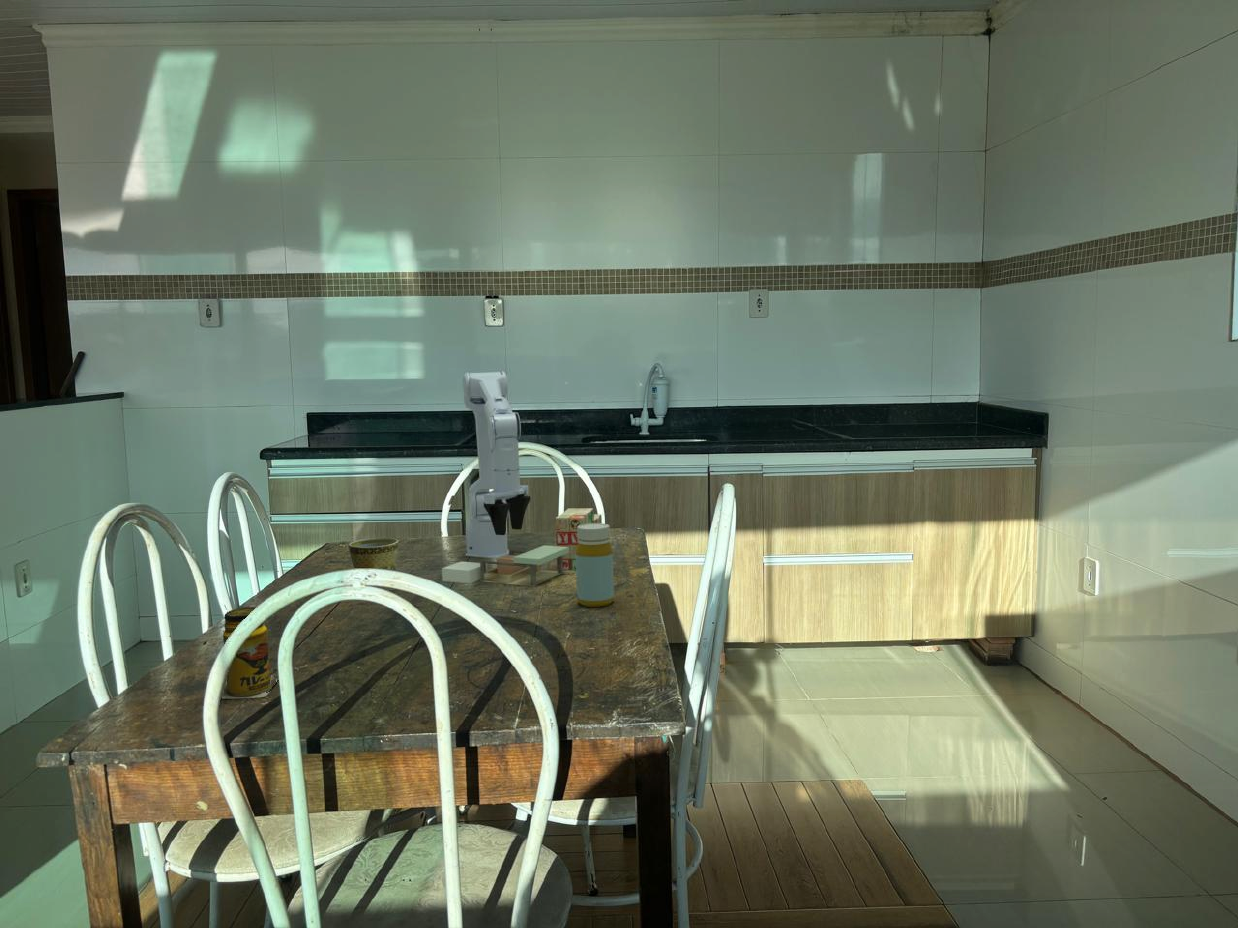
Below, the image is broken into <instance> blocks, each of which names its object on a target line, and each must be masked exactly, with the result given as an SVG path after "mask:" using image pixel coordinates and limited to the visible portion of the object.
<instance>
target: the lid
mask: <svg viewBox="0 0 1238 928" xmlns="http://www.w3.org/2000/svg"><path fill="white" fill-rule="evenodd" d="M527 551H528V552H526V553H519V555H515V557H514V563H522V564H535V565H539V566H540V565H543V564H545V563H548V562H550V561H552V560H555V559H557V557H559V556H562V555H564V554H567V553H569V547H560V546H557V545H545V544H543V545H541V546H538V547H536V548H534V549H531V550H527Z"/></svg>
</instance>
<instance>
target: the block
mask: <svg viewBox="0 0 1238 928" xmlns="http://www.w3.org/2000/svg"><path fill="white" fill-rule="evenodd" d="M515 556H516V555H515V554H514V555H509V554H508V555H505V556H503V557H500V558H496V562H508V563H514V557H515ZM520 564H522V563H520ZM496 565H497V564H496ZM496 567H497V569H498V574H504V575H510V574H512V573H515V572H517V571H520V570H522V569H523V567H522V566H509V565H497V566H496Z"/></svg>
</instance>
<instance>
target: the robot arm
mask: <svg viewBox="0 0 1238 928" xmlns="http://www.w3.org/2000/svg"><path fill="white" fill-rule="evenodd" d="M462 377H463V378H462V379H463V381H462V382H463V383H462V386H463V399H464V404H465V408H467V409H469V410H470V411H472V413H473V416H474V420H475V433H476V435H475V436H476V448H477V462H478V473H479V474H478V476H479V477H478V479H477V480H475V481H474V482H473V483H472V484H471V485H470V486H469V489H468V510H469V514H470V515H469V516H470V517H471V518H470V519H469V520H468V521H467V523H466V526H465V540H466V541H465V542H466V553H465V554H464V556H465V557H475V558H485V559H487V558H489V559H497V558H500V557H503V556H505V555H509V550H510V549H508V535H507V534H508V531H507V528H508V527H507V519H508V517H509V519H510V520H509V521H510V525H511V529H512V530H519V531H520V530H522V529H523V525H524V519H525V515H526V511H527V508H528V506H529V503H530V502H531V496H530V495H529V485H525V484H521V480H520V479H521V478H520V476H521V475H520V472H521V471H520V457H519V456H520V455H519V454H520V451H519V440H520V438H521V436H522V435H521V433H522V425H521V424H522V423H521V419H520V415H519V412H514V411H513V410H512V408H511V405H510V402H509V400H508V399H507V394H508V388H509V387H508V377H507V374H506V373H505V372H504V371H496V372H493V371H492V372H490V371H489V372H465V373H464V375H463V376H462ZM488 490H489V491H488ZM490 490H491V491H490Z"/></svg>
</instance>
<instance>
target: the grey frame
mask: <svg viewBox="0 0 1238 928" xmlns="http://www.w3.org/2000/svg"><path fill="white" fill-rule="evenodd" d="M508 550H509V554H508V555H515V554H523V553H526V552H528V551H529V550H518V549H508ZM557 562H558V570H557V571H555V570H554V571H553V570H544V569H540V565H535V564H520V563H508V562H497V560H496V561H493V560H486V559H481V560H479V563H480V570H481V579H480V582H483V583H484V582H485V583H486V582H487V583H497V584H498V583H499V584H508V585H517V586H528V587H529V586H530V587H535V586H537V585H540V584H541V583H544V582H546V581H548V580H550V579H552V578H555V577H557V576H559V575H562V574H564V573H565V572H564V570H563V561H562V556H559V557H557V558H556V563H557ZM486 564H488V565H509V566H522V567H523V569H522V570H520V571H517V572H515V573H512V574H510V575H504V574H498V569H497V566H496V567H494V568H491V569H488V571H486Z"/></svg>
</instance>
